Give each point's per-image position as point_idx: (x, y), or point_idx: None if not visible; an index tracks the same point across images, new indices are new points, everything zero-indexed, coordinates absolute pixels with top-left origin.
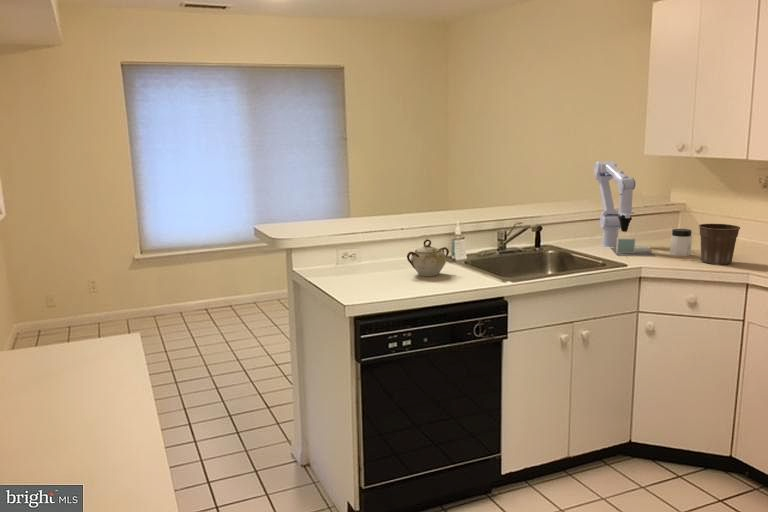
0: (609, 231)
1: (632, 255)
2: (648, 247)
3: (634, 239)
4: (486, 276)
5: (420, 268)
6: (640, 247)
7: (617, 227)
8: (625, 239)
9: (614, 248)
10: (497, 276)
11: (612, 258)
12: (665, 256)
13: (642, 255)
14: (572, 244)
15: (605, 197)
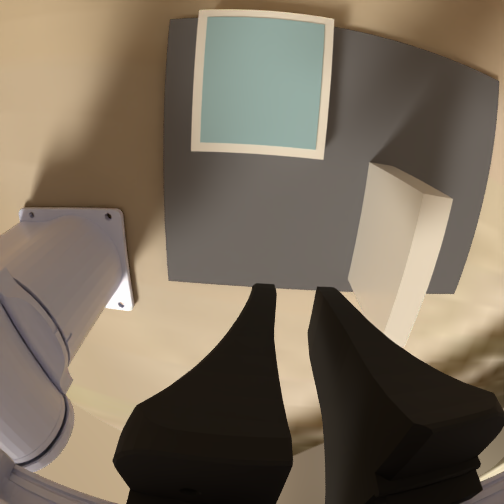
0: (75, 348)
1: (462, 209)
2: (306, 23)
3: (446, 204)
4: (481, 477)
5: None
6: (308, 89)
7: (12, 302)
8: (424, 284)
9: (194, 259)
10: (489, 470)
11: (468, 316)
12: (458, 7)
13: (471, 147)
14: (87, 397)
15: None
